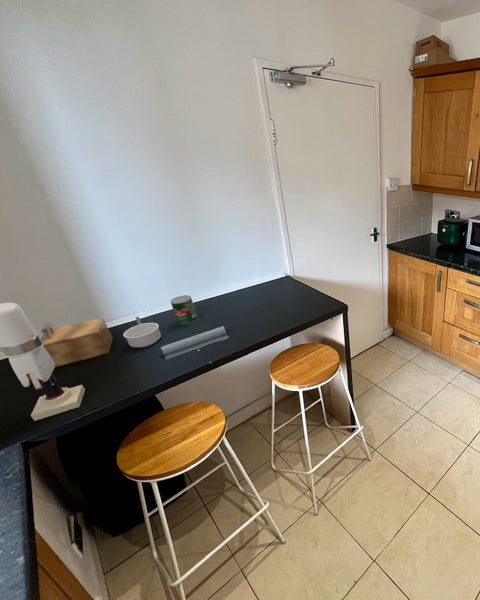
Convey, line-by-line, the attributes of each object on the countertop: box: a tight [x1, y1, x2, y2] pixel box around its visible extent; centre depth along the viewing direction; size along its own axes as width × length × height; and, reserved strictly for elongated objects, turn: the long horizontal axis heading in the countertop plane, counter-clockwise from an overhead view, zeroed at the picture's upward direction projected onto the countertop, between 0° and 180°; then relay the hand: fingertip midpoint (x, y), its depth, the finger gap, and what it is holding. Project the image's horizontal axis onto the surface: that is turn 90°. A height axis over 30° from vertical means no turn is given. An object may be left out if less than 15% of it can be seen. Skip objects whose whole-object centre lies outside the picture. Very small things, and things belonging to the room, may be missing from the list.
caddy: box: [43, 320, 114, 368], centre depth 121 cm, size 16×13×9 cm
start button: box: [47, 391, 64, 400], centre depth 97 cm, size 4×4×2 cm
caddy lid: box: [40, 317, 105, 346], centre depth 117 cm, size 16×13×5 cm
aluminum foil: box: [160, 325, 230, 360], centre depth 126 cm, size 23×7×3 cm, turn 133°
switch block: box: [30, 384, 86, 421], centre depth 97 cm, size 10×9×4 cm
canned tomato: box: [169, 294, 199, 326], centre depth 142 cm, size 8×8×11 cm
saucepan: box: [123, 316, 162, 348], centre depth 130 cm, size 12×20×6 cm, turn 42°
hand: (55, 394), depth 96 cm, fingers closed
